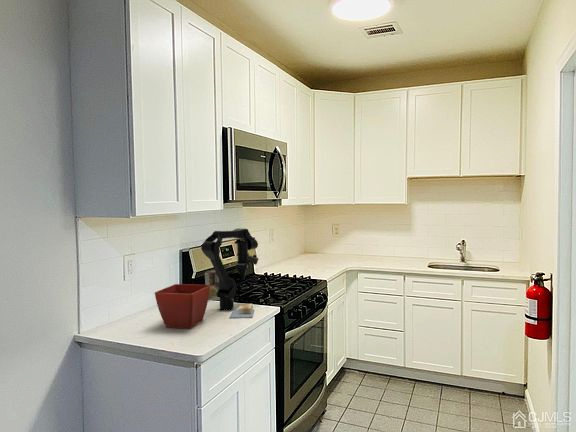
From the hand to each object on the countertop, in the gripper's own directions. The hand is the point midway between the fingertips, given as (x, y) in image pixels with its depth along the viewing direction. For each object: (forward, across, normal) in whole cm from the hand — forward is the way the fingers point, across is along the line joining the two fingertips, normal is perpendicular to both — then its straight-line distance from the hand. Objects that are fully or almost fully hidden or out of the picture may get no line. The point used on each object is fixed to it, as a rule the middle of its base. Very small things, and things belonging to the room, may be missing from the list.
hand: (243, 279), depth 232 cm
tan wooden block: (+11, -15, -3) cm, 19 cm away
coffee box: (+13, +10, +18) cm, 24 cm away
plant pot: (+13, -36, +24) cm, 45 cm away
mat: (+13, -23, -2) cm, 26 cm away
